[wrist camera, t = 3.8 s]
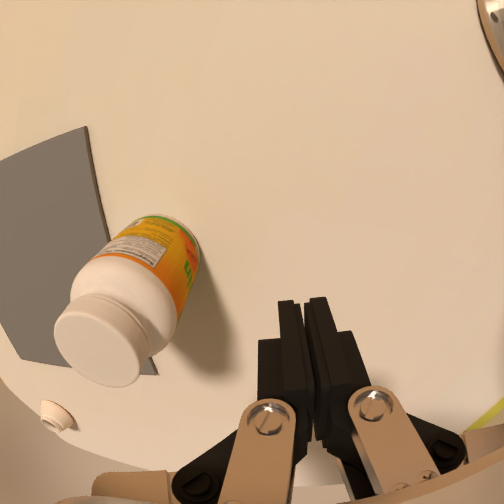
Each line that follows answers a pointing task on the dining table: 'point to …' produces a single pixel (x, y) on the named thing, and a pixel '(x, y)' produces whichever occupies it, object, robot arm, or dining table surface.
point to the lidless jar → (55, 416)
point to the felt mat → (47, 239)
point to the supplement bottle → (128, 300)
